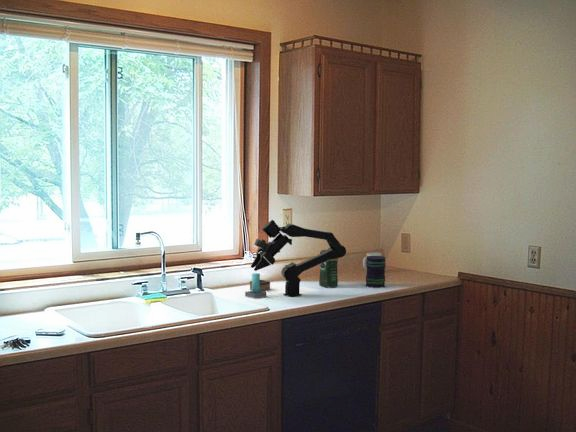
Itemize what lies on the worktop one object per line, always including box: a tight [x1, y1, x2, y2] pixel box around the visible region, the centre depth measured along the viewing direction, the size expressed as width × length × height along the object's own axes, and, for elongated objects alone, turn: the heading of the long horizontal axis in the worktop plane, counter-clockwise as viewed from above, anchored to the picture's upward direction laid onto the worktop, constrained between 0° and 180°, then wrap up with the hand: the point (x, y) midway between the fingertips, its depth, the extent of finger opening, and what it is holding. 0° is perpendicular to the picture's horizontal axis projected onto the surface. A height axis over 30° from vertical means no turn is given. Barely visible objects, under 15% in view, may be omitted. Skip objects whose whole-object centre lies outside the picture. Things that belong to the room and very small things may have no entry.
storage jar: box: [365, 255, 387, 289], centre depth 331 cm, size 10×10×15 cm
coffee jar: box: [318, 249, 339, 288], centre depth 329 cm, size 10×8×19 cm
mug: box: [362, 252, 382, 272], centre depth 374 cm, size 12×8×11 cm
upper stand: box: [249, 279, 271, 292], centre depth 318 cm, size 7×7×4 cm
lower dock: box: [244, 290, 267, 299], centre depth 302 cm, size 7×7×2 cm
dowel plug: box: [251, 272, 261, 294], centre depth 301 cm, size 4×4×10 cm
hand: (252, 268), depth 300 cm, fingers open, 9 cm apart
